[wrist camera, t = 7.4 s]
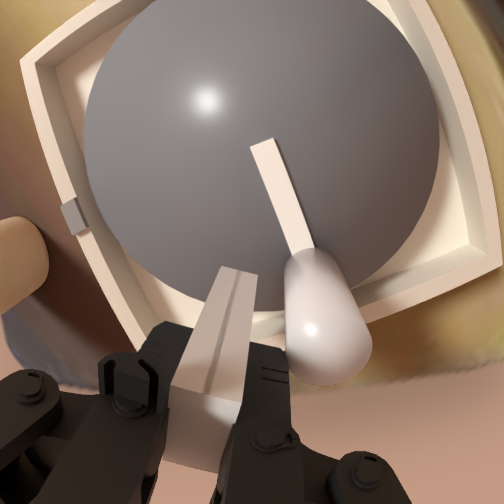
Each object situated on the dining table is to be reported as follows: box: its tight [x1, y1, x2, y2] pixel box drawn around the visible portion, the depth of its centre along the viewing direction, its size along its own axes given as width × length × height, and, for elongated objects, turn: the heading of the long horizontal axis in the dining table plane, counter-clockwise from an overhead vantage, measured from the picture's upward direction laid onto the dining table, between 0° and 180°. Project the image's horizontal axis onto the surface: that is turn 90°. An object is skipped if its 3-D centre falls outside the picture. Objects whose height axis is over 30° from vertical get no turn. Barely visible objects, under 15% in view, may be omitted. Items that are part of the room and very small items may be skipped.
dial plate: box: [20, 0, 503, 352], centre depth 14 cm, size 20×20×4 cm
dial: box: [83, 0, 440, 386], centre depth 10 cm, size 16×16×8 cm
